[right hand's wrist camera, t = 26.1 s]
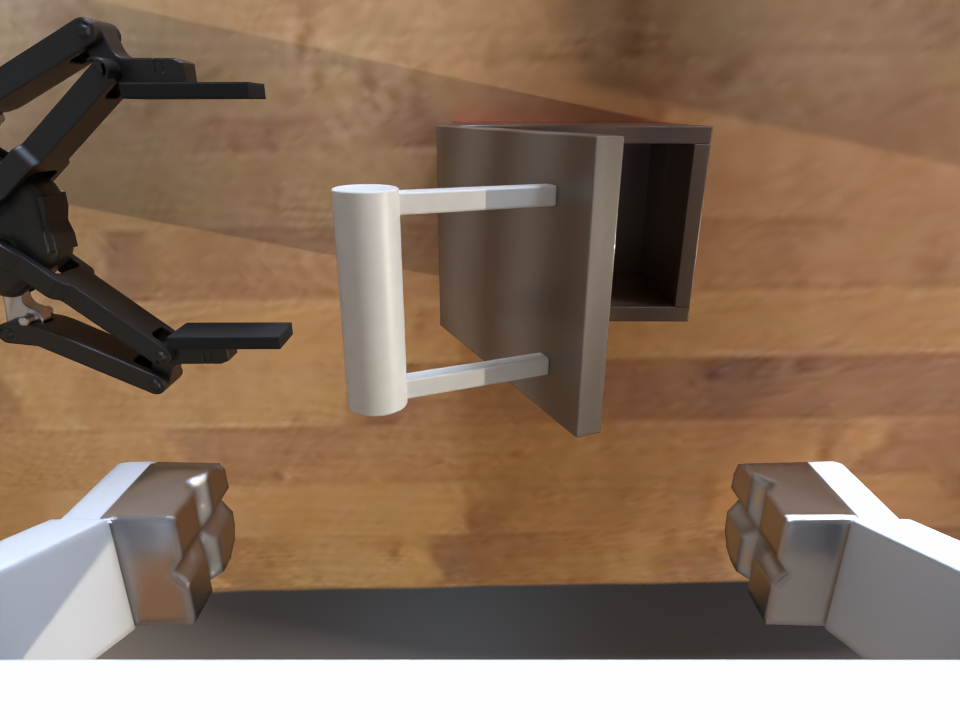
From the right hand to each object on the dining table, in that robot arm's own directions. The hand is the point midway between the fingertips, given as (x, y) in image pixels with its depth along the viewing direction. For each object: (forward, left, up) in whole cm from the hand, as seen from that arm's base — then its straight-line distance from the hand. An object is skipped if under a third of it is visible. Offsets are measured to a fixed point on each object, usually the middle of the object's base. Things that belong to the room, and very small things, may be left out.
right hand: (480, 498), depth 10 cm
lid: (-1, +1, -19) cm, 19 cm away
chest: (-2, +5, -35) cm, 35 cm away
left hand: (+5, -10, -28) cm, 30 cm away
